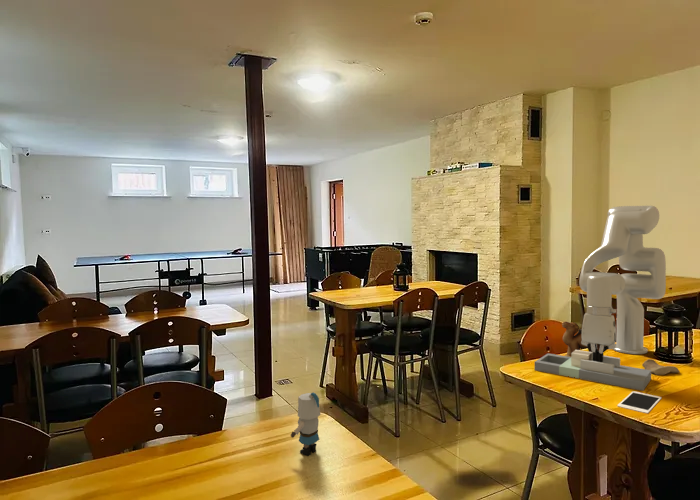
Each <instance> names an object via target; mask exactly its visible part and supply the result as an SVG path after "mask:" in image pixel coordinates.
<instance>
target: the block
mask: <svg viewBox="0 0 700 500" xmlns="http://www.w3.org/2000/svg"><path fill="white" fill-rule="evenodd" d="M592 357H593V352H589V351H587V350H575V351H573V352H572V353H571V366H576V367H580V363H581V359H584V360H590V361H592Z"/></svg>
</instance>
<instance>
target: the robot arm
mask: <svg viewBox="0 0 700 500" xmlns="http://www.w3.org/2000/svg"><path fill="white" fill-rule="evenodd" d="M659 220H660V212H659V209H658V208H657V207H656V206H655V205H622V206H613V207H611V208H609V209H608V211H607V218H606V220H605V221H606V222H605V226H604V229H603V234H602V239H601V243H600V245H599V247H597V248H596V249H595V250H594V251H593V252H591V253H590V254H588V256H587V257H586V258H585V260H584V262H583V263H582V267H581V271H580V274H579V281H578V284H579V285H578V286H579V288H580V289H581V291H583V292H585V293H586V312H585V313H584V315H583V321H582V325H581V329H582V341H581V344H582V345H585V346H588V347H589V348H590V349H591V351H592V352H593V361H596V362H603V356H604V353H605V352H606V351H607V350H613V351H616V352H619V353H622V354H629V355H645V354H647V353H648V352H649V351H648V348H647V347H645V346H644V326H645V325H644V323H645V322H644V321H645V319H644V318H645V308H644V305H643V304H642V303H641V301H640V300H639V299H652V300H660V299H662V298H664V296H665V295H666V288H667V287H666V286H667V285H666V284H667V279H666V278H667V273H666V269H667V268H666V254H665V252H664V250H663V249H661V248H659V247H644V241H643V240H644V237H643V236H644V235H647V234H650V233H651V232H652V231H653V230H654V229H655V227H657V225H658V223H659ZM617 258H618V264H619V267H620V269H622V270H624V271H629V273H622V274H619V273H615V272H603V271H602V272H601V271H593V270H595V268H596V267H598V266H599V265H600V264H603V263H606V262H609V261H610V260H614V259H617ZM630 271H631V272H649V273H650V274H645V273H644V274H643V273H630ZM612 295H615V296H616V308H613V305H612V301H613V300H612ZM614 314H616V319H615V316H614ZM615 320H616V321H615ZM597 344H600V349H599V351H598V350H597Z"/></svg>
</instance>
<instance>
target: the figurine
mask: <svg viewBox="0 0 700 500" xmlns="http://www.w3.org/2000/svg"><path fill="white" fill-rule="evenodd" d="M561 325H562V328H563V329H566V330H565V331H564V333H563V336H562V341H563V343H564V344H565V345H566V346H567V351H566V354H565V355H564V356H567V357H571V353H572V352H573V351H575V350H580V349H587V350H588V352H592V351H591V349H590V348H589V347H588V346H585V345H582V344H581V341H582V328H580V327H579V324H578V323H576V322H574V321H573V322H572V321H571V322H569V321H563V322H562V323H561ZM599 349H600V344H597V350H598V351H599Z"/></svg>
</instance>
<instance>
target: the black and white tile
mask: <svg viewBox="0 0 700 500" xmlns="http://www.w3.org/2000/svg"><path fill="white" fill-rule="evenodd" d="M660 400H662V396H658V395H654V394H653V395H652V394H648V393H643V392H639V391H633V390H632V391H631V392H630V393H629V394H628V395H627V396H626V397H625V398H623V399H622V401H620V402H619V403H618V404H617V405H616V406H617V407H619V408H621V409H622V408H623V409H626V410H629V411H630V410H631V411H634V412H638V413H643V414H649V413H650V412H651V411H652V410H653V408H654V407H655V406H656V405H657V404H658V403H659V402H661V401H660Z"/></svg>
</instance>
